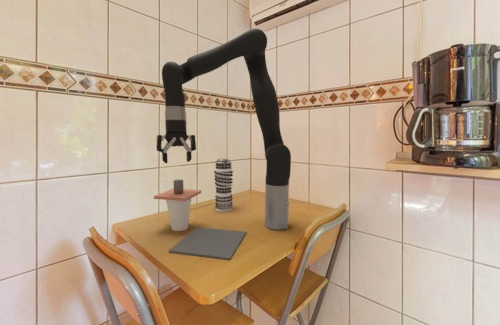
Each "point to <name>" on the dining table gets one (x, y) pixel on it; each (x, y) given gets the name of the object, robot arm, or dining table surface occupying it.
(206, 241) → the mat
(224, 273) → the dining table surface
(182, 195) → the lid
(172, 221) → the foam cup
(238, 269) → the dining table surface
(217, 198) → the decorative candle
